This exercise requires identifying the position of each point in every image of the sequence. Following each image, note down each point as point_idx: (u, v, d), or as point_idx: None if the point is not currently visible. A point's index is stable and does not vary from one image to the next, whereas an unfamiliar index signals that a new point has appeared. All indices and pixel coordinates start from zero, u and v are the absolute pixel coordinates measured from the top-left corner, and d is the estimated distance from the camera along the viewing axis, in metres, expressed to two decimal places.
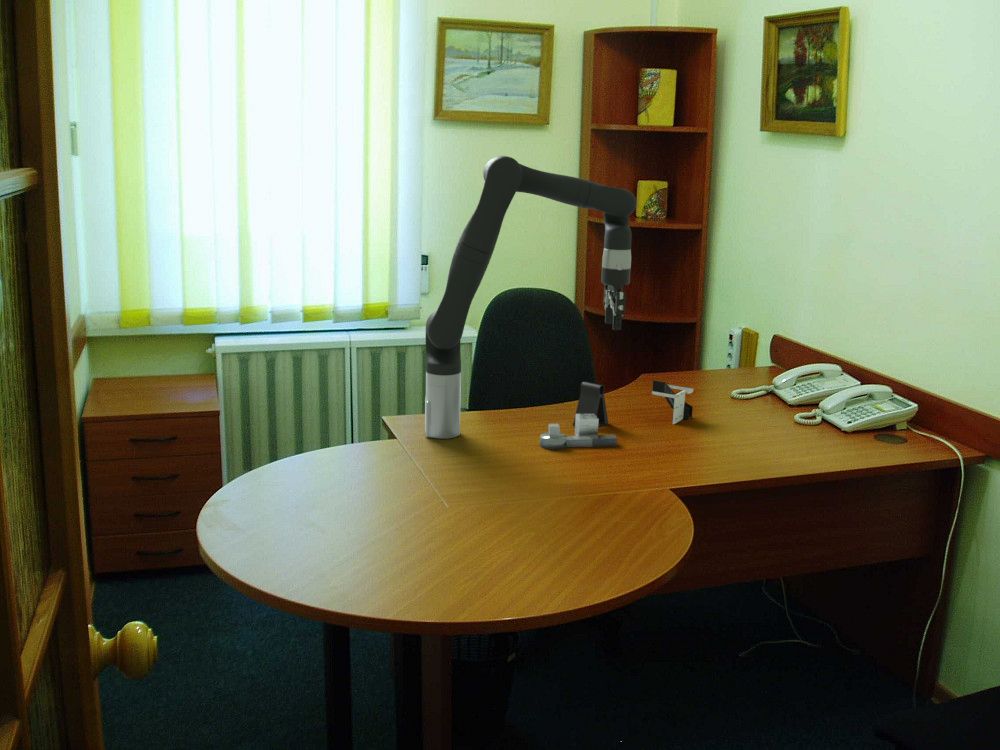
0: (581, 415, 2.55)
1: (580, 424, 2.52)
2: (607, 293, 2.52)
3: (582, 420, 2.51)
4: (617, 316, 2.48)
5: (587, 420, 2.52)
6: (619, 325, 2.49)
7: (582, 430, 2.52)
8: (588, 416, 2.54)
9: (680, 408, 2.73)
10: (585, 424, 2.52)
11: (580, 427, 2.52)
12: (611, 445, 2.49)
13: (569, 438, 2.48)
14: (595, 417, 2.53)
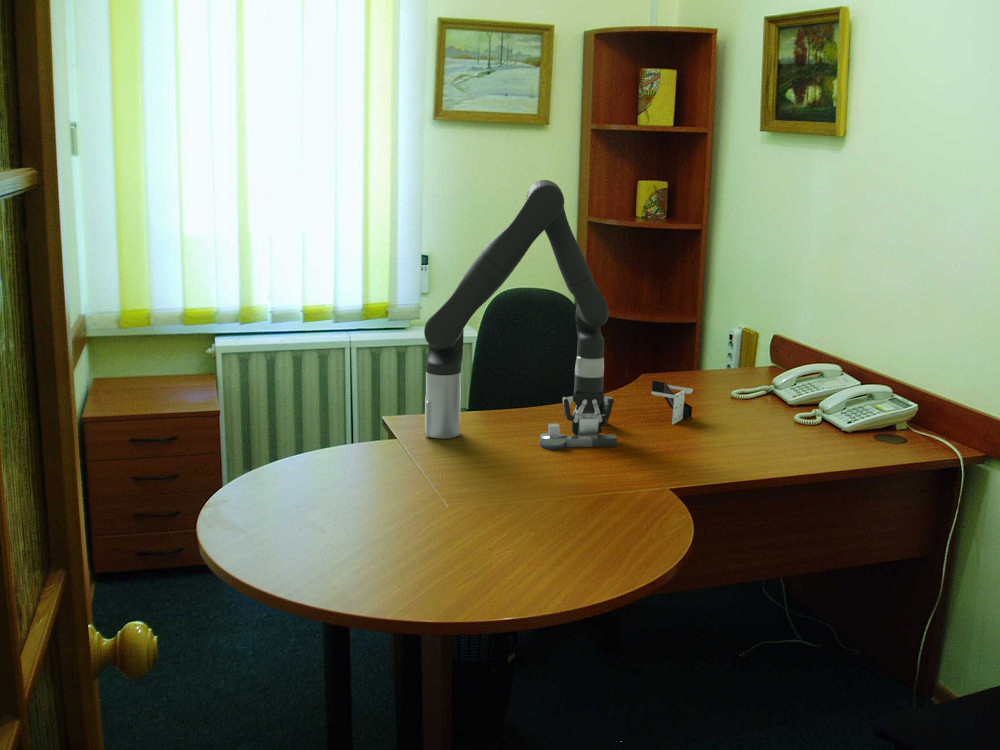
0: (581, 415, 2.55)
1: (580, 424, 2.52)
2: (587, 401, 2.51)
3: (582, 420, 2.51)
4: None
5: (587, 420, 2.52)
6: None
7: (582, 430, 2.52)
8: (588, 416, 2.54)
9: (679, 408, 2.73)
10: (585, 424, 2.52)
11: (580, 427, 2.52)
12: (611, 445, 2.49)
13: (569, 438, 2.48)
14: (595, 417, 2.53)
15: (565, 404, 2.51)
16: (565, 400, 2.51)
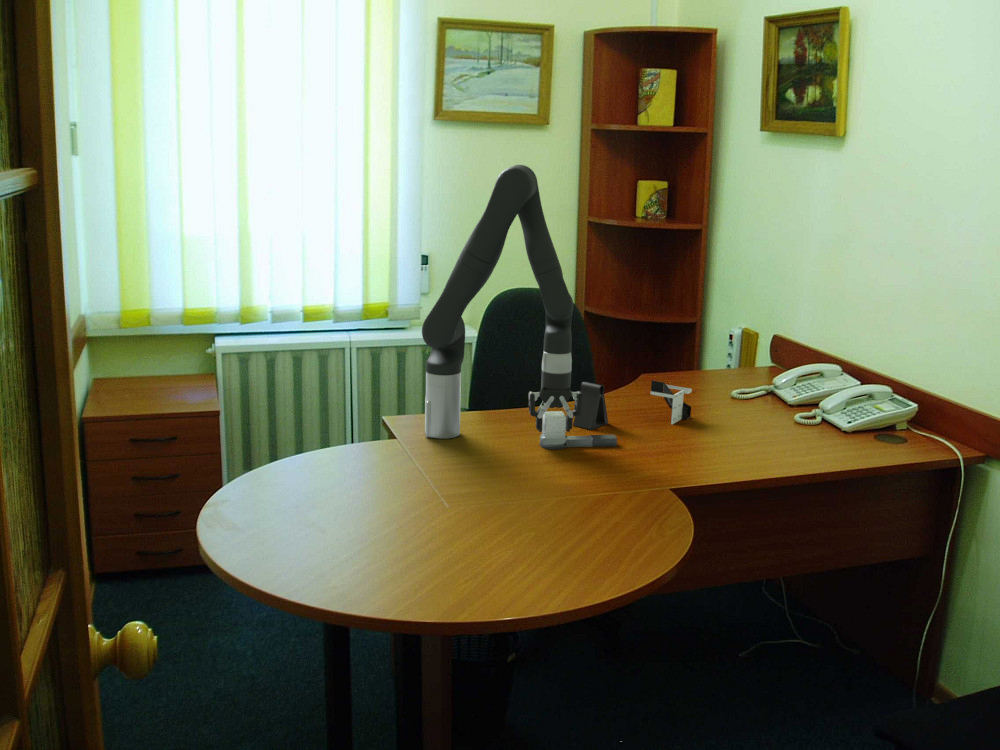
0: (548, 413, 2.47)
1: (547, 422, 2.44)
2: (554, 398, 2.43)
3: (549, 418, 2.44)
4: None
5: (554, 418, 2.44)
6: None
7: (549, 428, 2.44)
8: (556, 414, 2.46)
9: (679, 408, 2.73)
10: (552, 422, 2.44)
11: (547, 425, 2.44)
12: (611, 445, 2.49)
13: (569, 438, 2.48)
14: (562, 415, 2.45)
15: (531, 399, 2.43)
16: (531, 395, 2.43)
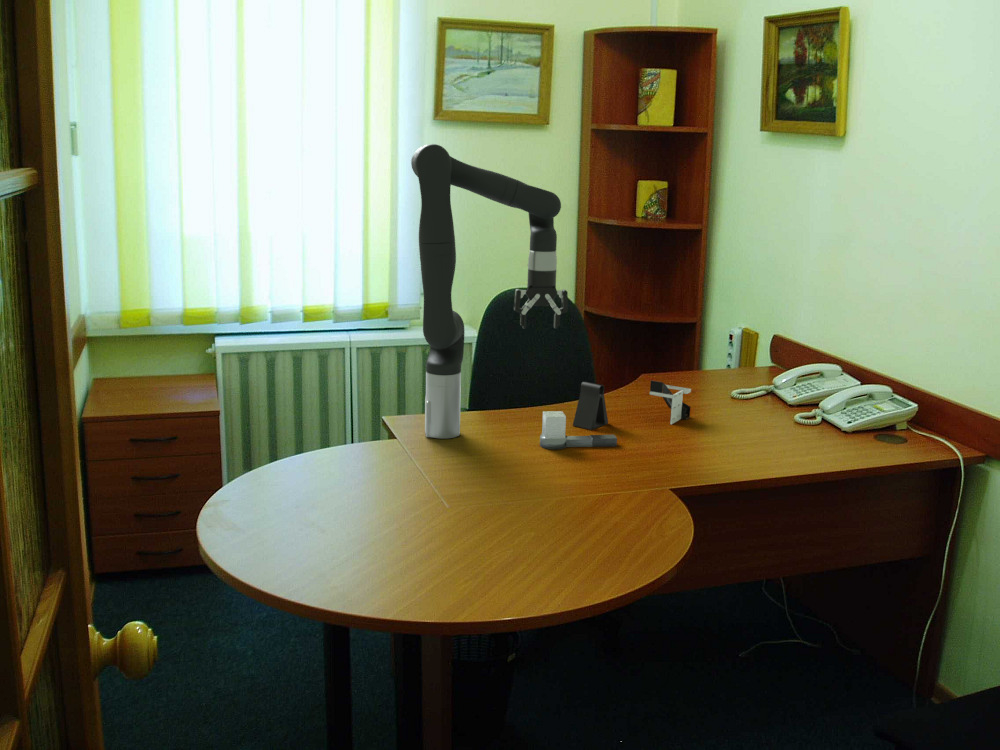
0: (548, 413, 2.47)
1: (547, 422, 2.44)
2: (539, 296, 2.52)
3: (549, 418, 2.44)
4: None
5: (554, 418, 2.44)
6: None
7: (549, 428, 2.44)
8: (556, 414, 2.46)
9: (678, 408, 2.73)
10: (552, 422, 2.44)
11: (547, 425, 2.44)
12: (611, 445, 2.49)
13: (569, 438, 2.48)
14: (562, 415, 2.45)
15: (517, 295, 2.52)
16: (518, 291, 2.51)
